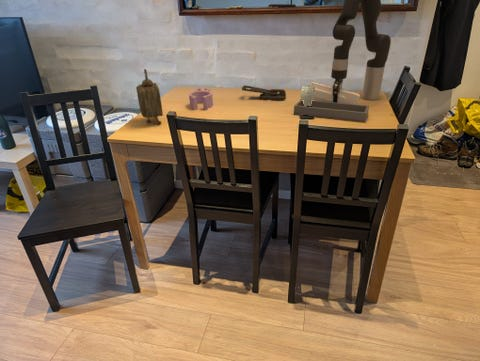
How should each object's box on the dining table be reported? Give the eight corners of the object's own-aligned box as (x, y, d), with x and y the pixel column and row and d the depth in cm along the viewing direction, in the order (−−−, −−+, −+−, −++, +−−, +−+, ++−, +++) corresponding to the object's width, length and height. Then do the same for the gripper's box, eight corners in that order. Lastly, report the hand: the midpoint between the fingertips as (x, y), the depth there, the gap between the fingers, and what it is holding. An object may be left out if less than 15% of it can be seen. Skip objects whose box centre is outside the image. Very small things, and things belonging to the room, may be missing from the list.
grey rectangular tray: (300, 107, 183) (300, 99, 181) (367, 114, 171) (369, 105, 169) (293, 114, 174) (294, 105, 172) (364, 122, 161) (366, 113, 159)
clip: (193, 100, 202) (191, 88, 198) (214, 99, 201) (213, 87, 198) (188, 110, 184) (187, 98, 181) (212, 110, 184) (211, 97, 180)
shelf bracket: (306, 103, 189) (312, 81, 183) (352, 116, 185) (360, 93, 178) (304, 106, 185) (311, 83, 178) (351, 119, 180) (359, 96, 173)
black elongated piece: (243, 84, 203) (286, 85, 198) (243, 96, 206) (286, 97, 202) (240, 88, 195) (285, 89, 191) (241, 100, 198) (285, 101, 194)
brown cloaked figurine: (164, 125, 165) (156, 71, 153) (145, 128, 163) (135, 73, 150) (159, 116, 177) (152, 65, 165) (141, 118, 174) (132, 67, 162)
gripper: (345, 71, 166) (340, 106, 174) (349, 65, 177) (345, 98, 185) (329, 70, 169) (325, 104, 177) (334, 64, 180) (331, 97, 188)
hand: (336, 101), depth 181 cm, fingers closed on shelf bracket, 5 cm apart
